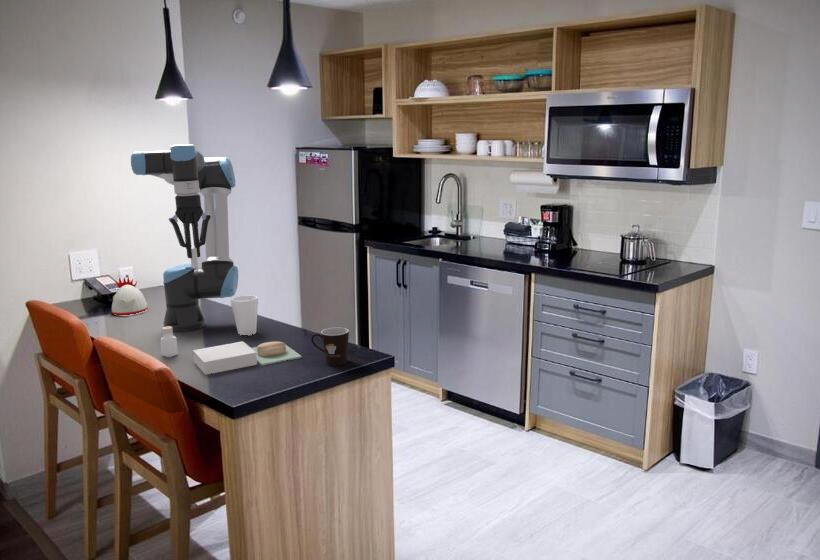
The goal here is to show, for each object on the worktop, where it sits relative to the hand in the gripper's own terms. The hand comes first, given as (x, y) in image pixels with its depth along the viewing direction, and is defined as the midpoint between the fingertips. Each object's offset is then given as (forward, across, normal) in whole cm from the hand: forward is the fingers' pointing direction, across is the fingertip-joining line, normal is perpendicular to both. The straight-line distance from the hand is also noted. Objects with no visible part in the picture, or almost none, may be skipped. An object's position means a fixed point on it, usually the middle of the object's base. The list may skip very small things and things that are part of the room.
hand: (195, 267), depth 219 cm
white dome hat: (+30, -10, +73) cm, 80 cm away
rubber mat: (+29, +18, -16) cm, 38 cm away
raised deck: (+29, +2, -16) cm, 33 cm away
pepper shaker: (+29, -10, +3) cm, 31 cm away
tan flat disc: (+28, +18, -16) cm, 37 cm away
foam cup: (+29, +19, +13) cm, 37 cm away
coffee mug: (+29, +31, -35) cm, 55 cm away
